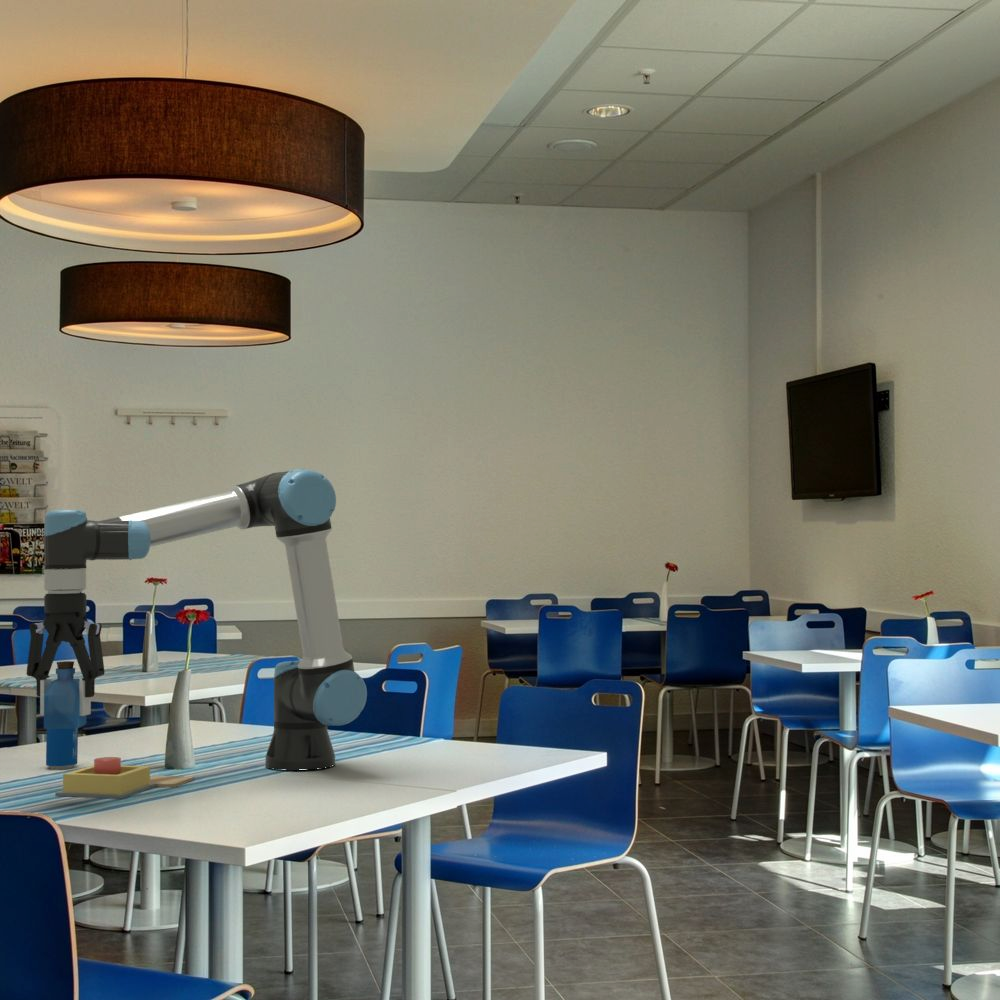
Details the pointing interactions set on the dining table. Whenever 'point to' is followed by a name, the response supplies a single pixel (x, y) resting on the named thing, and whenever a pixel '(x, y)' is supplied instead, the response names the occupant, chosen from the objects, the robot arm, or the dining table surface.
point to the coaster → (169, 780)
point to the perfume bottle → (63, 700)
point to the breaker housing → (106, 783)
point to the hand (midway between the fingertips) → (65, 714)
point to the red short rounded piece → (107, 765)
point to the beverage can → (61, 748)
